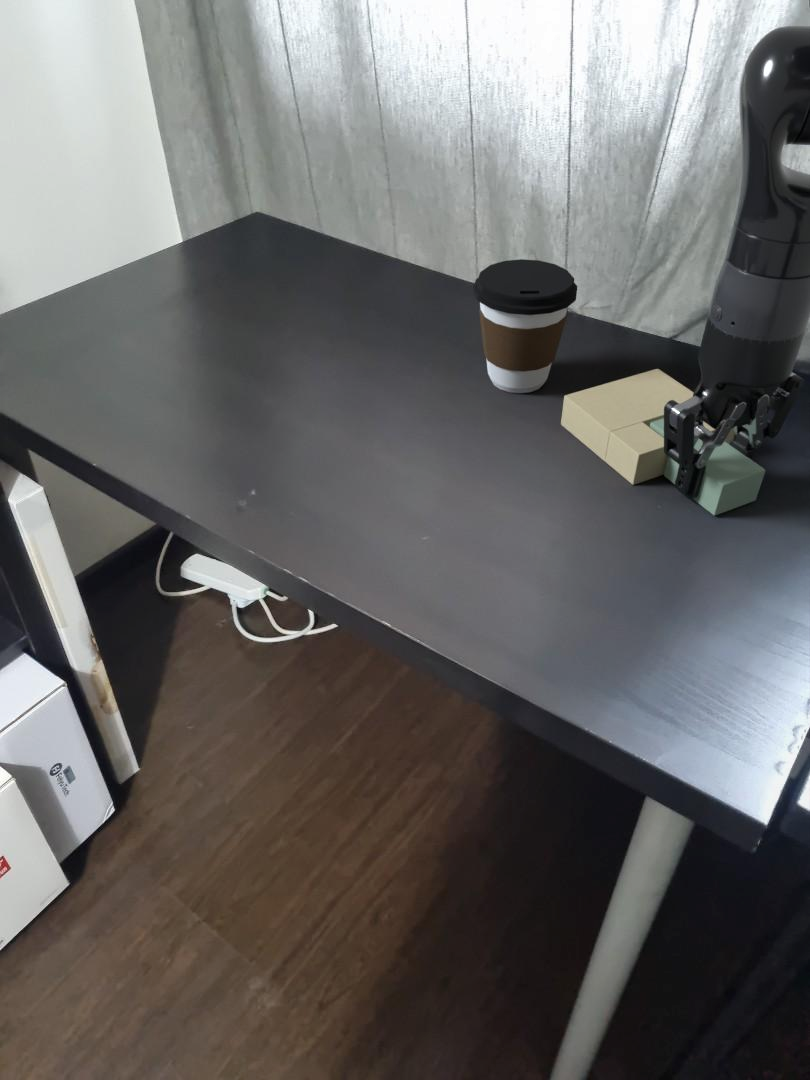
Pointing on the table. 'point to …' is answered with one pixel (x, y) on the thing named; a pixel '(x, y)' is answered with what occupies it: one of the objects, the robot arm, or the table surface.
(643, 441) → the notch pad
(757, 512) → the table surface
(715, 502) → the pad
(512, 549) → the table surface
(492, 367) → the coffee cup
